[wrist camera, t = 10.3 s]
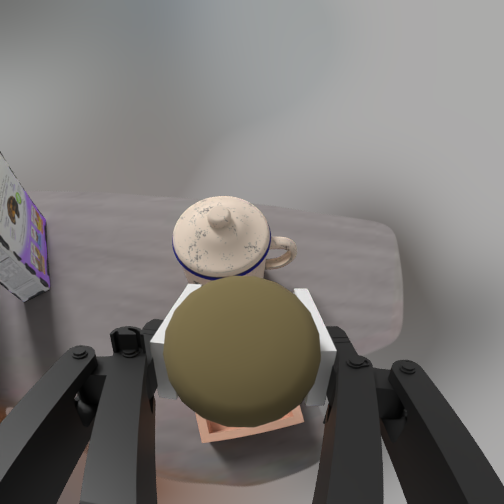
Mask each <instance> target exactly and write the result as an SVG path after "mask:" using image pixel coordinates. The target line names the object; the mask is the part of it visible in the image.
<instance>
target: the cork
mask: <svg viewBox="0 0 504 504" xmlns="http://www.w3.org/2000/svg"><path fill="white" fill-rule="evenodd" d="M163 357H164V362H165V366H166V370H167V374H168V379H169V382H170V383H171V385H172V386H173V388H174V390H175V391H176V393H177V394H178V396H179V397H180V399H181V401H182V402H183V403H184V404H186V405H187V406H188V407H189V408H190V409H192V410H193V411H194V412H196V413H197V414H198V415H199V416H201V417H202V418H204V419H207V420H209V421H212V422H215V423H218V424H220V425H223V426H226V427H252V428H254V427H258V426H261V425H264V424H267V423H271V422H274V421H277V420H280V419H281V418H282V417H284V416H285V415H287V414H288V413H289V412H291V411H292V410H293V409H295V408H296V407H297V406H299V405H300V404H301V403H302V401H303V400H304V398H305V397H306V395H307V394H308V393H309V391H310V390H311V388H312V387H313V385H314V384H315V380H316V377H317V373H318V369H319V366H320V362H321V350H320V336H319V332H318V329H317V327H316V324H315V322H314V320H313V317H312V315H311V312H310V311H309V310H308V309H307V308H306V306H305V305H304V304H303V303H302V302H301V301H300V299H299V298H298V297H297V296H296V295H295V294H293V293H292V292H290V291H289V290H287V289H286V288H284V287H283V286H281V285H279V284H278V283H276V282H273V281H269V280H266V279H263V278H259V277H256V276H229V277H225V278H221V279H217V280H214V281H210V282H208V283H206V284H205V285H203V286H201V287H200V288H198V289H196V290H195V291H193V292H191V293H190V294H189V295H188V296H187V297H186V298H185V299H184V301H183V302H182V303H181V304H180V305H179V306H178V307H177V308H176V309H175V311H174V313H173V315H172V317H171V320H170V322H169V324H168V326H167V328H166V331H165V339H164V348H163Z"/></svg>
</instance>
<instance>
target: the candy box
mask: <svg viewBox="0 0 504 504" xmlns="http://www.w3.org/2000/svg"><path fill="white" fill-rule="evenodd" d="M0 284H1V285H2V286H3V287H5V288H6V289H7V290H8V291H10V292H11V293H12V294H14V295H15V296H16V297H17V298H19V299H20V300H22V301H23V302H25V301H27V300H29V299H31V298H33V297H35V296H37V295H39V294H41V293H43V292H45V291H47V290H49V289H50V279H49V272H48V260H47V246H46V219H45V218H44V217H43V215H42V214H41V213H40V211H39V210H38V209H37V207H36V206H35V204H34V203H33V202H32V200H31V199H30V197H29V196H28V195H27V193H26V191H25V190H24V188H23V187H22V186H21V184H20V182H19V181H18V179H17V178H16V176H15V175H14V173H13V172H12V170H11V168H10V167H9V165H8V164H7V162H6V160H5V159H4V157H3V155H2V154H1V152H0Z"/></svg>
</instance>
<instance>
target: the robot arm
mask: <svg viewBox="0 0 504 504" xmlns="http://www.w3.org/2000/svg"><path fill="white" fill-rule="evenodd" d="M201 286H202V285H201V284H188V285H187V287H186V288H185V290H184V291H183V293H182V294H181V296H180V297H179V299H178V300H177V302H176V303H175V305H174V306H173V308H172V309H171V311H170V312H169V314H168V315H167V317H166V318H165V320H159V319H153V320H151V321H150V322H148V323H146V325H145V326H144V327H143V330H141V329H140V328H137V327H131V326H126V327H120V328H117V329H115V330H113V331H112V332H111V333H110V337H111V342H112V347H113V352H114V353H113V356H108V357H96V355H95V350H94V349H93V348H92V347H89V346H83V345H79V346H75V347H73V348H70V349H69V350H68V351H67V352H66V353H65V354H64V355H63V356H62V357H61V358H60V359H59V360H58V361H57V362H56V363H55V364H54V365H53V366H52V367H51V368H50V369H49V370H48V371H47V372H46V373H45V374H44V375H43V376H42V377H41V379H40V380H39V381H38V382H37V383H36V384H35V385H34V386H33V387H32V388H31V389H30V390H29V391H28V393H27V394H26V395H25V396H24V397H23V398H22V399H21V400H20V401H19V403H18V404H17V405H16V406H15V407H14V408H13V409H12V411H11V412H10V413H9V414H8V415H7V416H6V417H5V419H4V420H3V421H2V422H1V423H0V504H56V503H57V501H58V499H59V497H60V495H61V493H62V491H63V489H64V487H65V485H66V483H67V481H68V479H69V477H70V475H71V474H72V472H73V470H74V468H75V466H76V464H77V462H78V460H79V458H80V457H81V455H82V453H83V451H84V449H85V447H86V445H87V444H88V442H89V440H90V444H89V449H88V454H87V460H86V466H85V471H84V477H83V483H82V490H81V497H80V503H79V504H157V492H156V469H155V398H154V393H155V391H156V389H158V395H159V397H162V398H168V399H175V400H177V397H178V394H177V393H176V391H175V390H174V388H173V386H172V385H171V383H170V382H169V379H168V374H167V370H166V366H165V362H164V357H163V348H164V339H165V331H166V328H167V326H168V324H169V322H170V320H171V317H172V315H173V313H174V311H175V309H176V308H177V307H178V306H179V305H180V304H181V303H182V302H183V301H184V299H185V298H186V297H187V296H188V295H189V294H190V293H191V292H193V291H195V290H196V289H198V288H200V287H201ZM294 294H295V295H296V296H297V297H298V298H299V299H300V301H301V302H302V303H303V304H304V305H305V306H306V308H307V309H308V310H309V311H310V312H311V315H312V317H313V320H314V322H315V324H316V327H317V329H318V332H319V336H320V350H321V362H320V366H319V369H318V373H317V377H316V380H315V384H314V385H313V387H312V388H311V390H310V391H309V393H308V394H307V395H306V397H305V398H304V400H305V404H306V406H320V405H324V404H325V400H326V396H327V398H328V401H329V404H328V408H327V411H326V415H325V418H324V422H323V424H325V428H324V436H323V444H322V450H321V457H320V463H319V470H318V475H317V481H316V487H315V492H314V497H313V502H312V504H383V462H382V447H381V446H382V445H381V436H382V439H383V441H384V444H385V446H386V449H387V451H388V454H389V456H390V459H391V461H392V464H393V466H394V469H395V472H396V474H397V477H398V479H399V482H400V485H401V487H402V490H403V493H404V496H405V498H406V500H407V504H504V486H503V484H502V483H501V481H500V479H499V478H498V476H497V474H496V473H495V471H494V470H493V468H492V466H491V465H490V463H489V462H488V460H487V458H486V457H485V456H484V454H483V452H482V451H481V449H480V448H479V446H478V445H477V443H476V442H475V440H474V439H473V437H472V436H471V435H470V433H469V431H468V430H467V428H466V427H465V426H464V424H463V423H462V421H461V420H460V418H459V417H458V416H457V414H456V413H455V411H454V410H453V409H452V407H451V406H450V405H449V403H448V402H447V400H446V399H445V398H444V396H443V395H442V394H441V392H440V391H439V390H438V388H437V387H436V386H435V385H434V383H433V382H432V381H431V379H430V378H429V377H428V375H427V374H426V373H425V372H424V370H423V369H422V368H421V366H419V365H418V364H417V363H415V362H413V361H409V360H399V361H396V362H394V363H393V365H392V368H391V370H386V369H377V368H373V367H372V363H371V362H370V360H368V359H367V358H365V357H363V356H359V355H358V354H357V352H356V351H355V349H354V347H353V345H352V343H350V340H349V338H348V337H347V335H346V333H345V331H343V330H342V329H341V328H339V327H338V326H334V327H325V325H324V322H323V320H322V318H321V316H320V314H319V312H318V310H317V308H316V306H315V304H314V302H313V299H312V297H311V295H310V293H309V291H308V289H295V288H294ZM76 393H77V397H76V398H75V396H76ZM74 398H75V399H74ZM90 438H91V439H90Z"/></svg>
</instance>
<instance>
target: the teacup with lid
mask: <svg viewBox="0 0 504 504" xmlns="http://www.w3.org/2000/svg"><path fill="white" fill-rule="evenodd" d="M172 245H173V250H174V254H175V256H176V258H177V260H178V261H179V263H180V264H181V265H182V267H183V270H184V273H185V275H186V278H187V280H188V283H189V284H201V285H202V286H203V285H205V284H206V283H208V282H210V281H214V280H217V279H221V278H225V277H229V276H256V277H259V278H264V270H271V269H278V268H281V267H284V266H286V265H288V264H289V263H291V262H292V261H293V260H294V258H295V257H296V255H297V247H296V244H295V242H294V241H292V240H291V239H289V238H285V237H271V232H270V228H269V225H268V222H267V220H266V218H265V217H264V215H263V214H262V213H261V212H260V211H259V210H258V209H257V208H256V207H255V206H254V205H252V204H251V203H249V202H247V201H245V200H242V199H239V198H235V197H229V196H217V197H211V198H207V199H204V200H201V201H199V202H197V203H195V204H194V205H192V206H191V207H189V208H188V209H187V210H186V211H185V212H184V213H183V214H182V215H181V217H180V218H179V220H178V221H177V223H176V225H175V228H174V232H173V237H172ZM269 249H285V250H288V251H287V252H286V253H285V254H283V255H282V256H280V257H277V258H271V259H266V255H267V253H268V251H269Z"/></svg>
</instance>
